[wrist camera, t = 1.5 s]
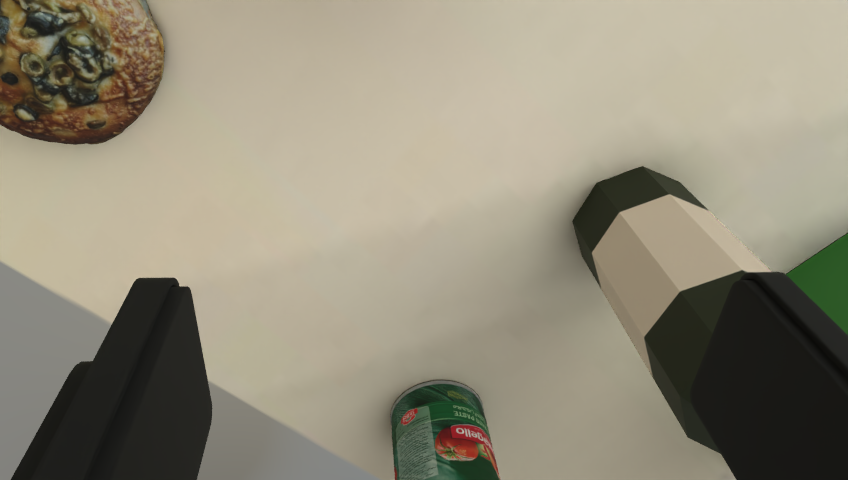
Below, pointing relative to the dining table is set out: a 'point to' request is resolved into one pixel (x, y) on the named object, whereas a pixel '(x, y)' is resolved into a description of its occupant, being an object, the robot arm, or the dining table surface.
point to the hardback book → (827, 280)
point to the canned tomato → (441, 434)
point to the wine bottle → (662, 275)
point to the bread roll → (77, 67)
